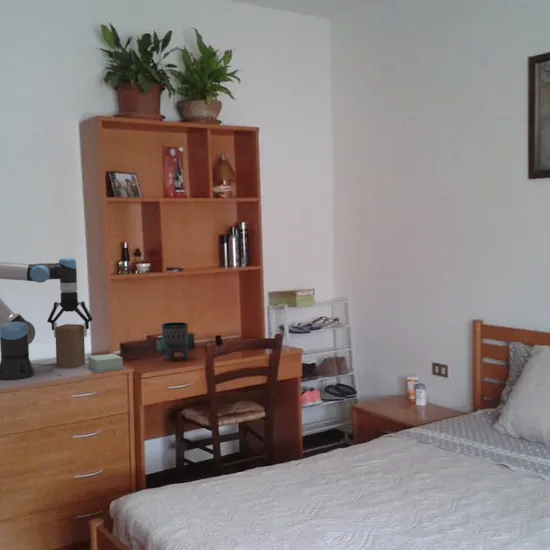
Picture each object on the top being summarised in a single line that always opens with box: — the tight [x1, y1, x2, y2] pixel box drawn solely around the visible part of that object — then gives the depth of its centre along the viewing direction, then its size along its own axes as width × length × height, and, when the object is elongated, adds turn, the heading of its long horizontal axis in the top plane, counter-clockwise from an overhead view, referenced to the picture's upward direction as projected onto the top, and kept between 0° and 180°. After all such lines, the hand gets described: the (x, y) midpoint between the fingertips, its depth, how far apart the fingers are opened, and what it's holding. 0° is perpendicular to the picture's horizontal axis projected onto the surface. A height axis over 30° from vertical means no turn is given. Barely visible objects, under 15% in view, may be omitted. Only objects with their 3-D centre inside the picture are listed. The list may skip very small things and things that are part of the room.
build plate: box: [83, 365, 129, 374], centre depth 311 cm, size 16×16×1 cm
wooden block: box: [55, 323, 86, 369], centre depth 315 cm, size 10×10×20 cm
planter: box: [161, 321, 189, 363], centre depth 333 cm, size 13×13×18 cm
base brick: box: [88, 353, 124, 372], centre depth 310 cm, size 12×12×5 cm
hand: (70, 336), depth 315 cm, fingers open, 13 cm apart
